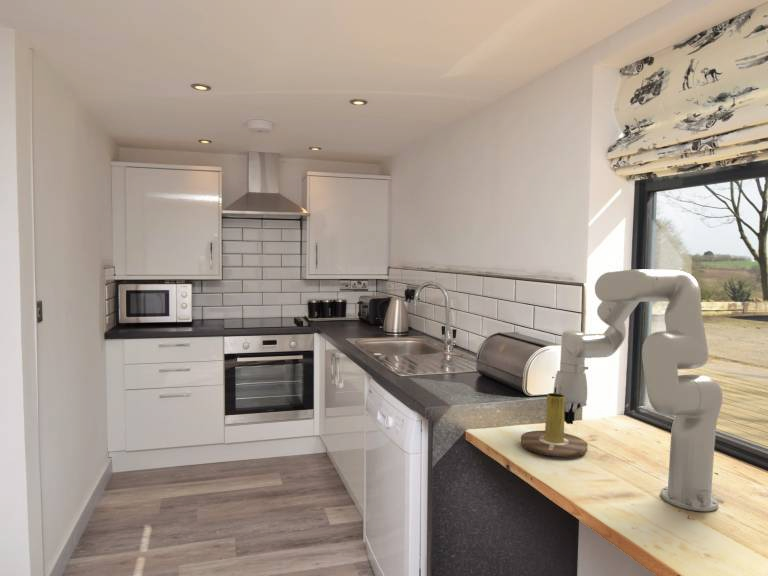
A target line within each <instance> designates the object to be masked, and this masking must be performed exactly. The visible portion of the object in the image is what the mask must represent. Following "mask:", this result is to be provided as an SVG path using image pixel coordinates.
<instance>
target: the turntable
mask: <svg viewBox="0 0 768 576" xmlns="http://www.w3.org/2000/svg"><path fill="white" fill-rule="evenodd" d="M544 435H545V430H531V431H526V432H524V433H523V434H521V435H520V445H521V446H522V447H524V448H525V449H526V450H529V451H532V452H534V453H537V454H542V455H545V456H550V457H552V456H553V457H559V458H560V457H561V458H562V457H563V458H570V457H579V456H583V455H584V454H586V453H588V446H589V445H588V443H587V441H585V439H583V438H581V437H578V436H576V435H573V434H569V433H566V432H564V442H562V443H552V442H548V441H546V440H545V439H544Z"/></svg>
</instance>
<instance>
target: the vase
mask: <svg viewBox="0 0 768 576" xmlns="http://www.w3.org/2000/svg"><path fill="white" fill-rule="evenodd" d="M564 408H565V396H564V395H562V394H558V393H553V392H550V393H547V397H546V411H545V424H544V426H545V427H544V428H545V430H544V431H545V435H544V439H545V440H546V441H548V442H552V443H562V442H564V433H565V420H564Z"/></svg>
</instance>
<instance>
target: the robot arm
mask: <svg viewBox="0 0 768 576" xmlns="http://www.w3.org/2000/svg"><path fill="white" fill-rule="evenodd" d="M594 293H595V296H596V297H597V299H598V300H599V301H601V302H600V303H599V305H598V307H597V309H596V312H597V316H598V317H599V319H600V320H601V321H602V322H603V323H604V324H606V325H608V327H607V328H606V330H605V331H604V332H603V333H585V332H583V331H580V330H565V331H563V332H562V334H561V342H560V343H561V345H560V360H559V361H560V363H559V370H557V371H556V373H555V374H556V375H555V379H554V385H553V391H552V393H558V394H562V395H564V396H565V408H564V423H566V424H567V425H573V424H574V421H575V414H576V412H577V410H578V409H580V408H583V407H586V406H587V405H588V404H587V400H588V381H587V375H586V374H587V373H586V372H585V371H586V370H589V365H586V363H585V361H586V360H585V359H592V358H593V359H594V358H600V359H601V358H608V357H611V356H612V355H614V354H615V353H616V352H617V351H618V350H619V348H620V347H621V346H622V344H624V341H625V338H626V335H627V334H626V333H627V332H626V331H627V326H626V324H625V322H626V321H627V319H628V318H629V316H631V314H632V313H633V311H634V310H636V308H637V306H638V305H639V303H641V302H642V303H643V302H651V303H652V302H668V304H667V306H666V308H665V311H664V317H663V318H664V325H665V331H664V330H663V331H661V330H660V331H656V332H653V333H651V334H649V335H648V336H647V337H646V338H645V340H644V341H643V344H642V348H641V360H642V366H643V373H644V374H643V375H644V381H645V387H646V393H647V398H648V400H649V401H648V402H649V404H650V406H651V407H652V409H653V410H654V411H655V412H656V413H657V414H659V415H662V416H665V417H674V418H673V422H672V426H671V429H670V430H671V432H670V445H669V446H670V447H669V462H668V477H667V478H668V480H667V486H664V487H662V488H661V489H660V497H661V498H662V499H663V500H664V501H665V502H667V503H668V504H671V505H673V506H675V507H677V508H681V509H686V510H688V511H695V512H712V511H715V510H717V509H718V508H719V501H718V500H717V498H716V497H714V496H713V495H712V491H713V490H712V487H713V472H714V458H715V446H716V445H715V444H716V434H717V433H716V432H717V424H718V418H719V415H720V412H721V407H722V405H723V398H724V397H723V390H722V388H721V386H720V385H719V383H718V382H717V381H716V380H715V379H714V378H712V377H710V376H707V375H704V374H679V373H678V370H681V371H682V370H695V369H699V368H702V367H703V366H705V365H706V363H708V360H709V350H708V349H709V348H708V341H707V335H706V330H705V323H704V318H703V314H702V313H703V311H702V295H701V287H700V285H699V283H698V281H697V279H696V278H695V277H694V276H693V275H691V274H690V273H687V272H685V271H683V270H682V271H681V270H675V269H647V268H646V269H640V268H639V269H636V268H635V269H634V268H633V269H626V270H619V271H608V272H605V273H603V274H601V275H600V276H599V277H598V278H597V280H596V281H595V284H594ZM569 404H570V405H569Z"/></svg>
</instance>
